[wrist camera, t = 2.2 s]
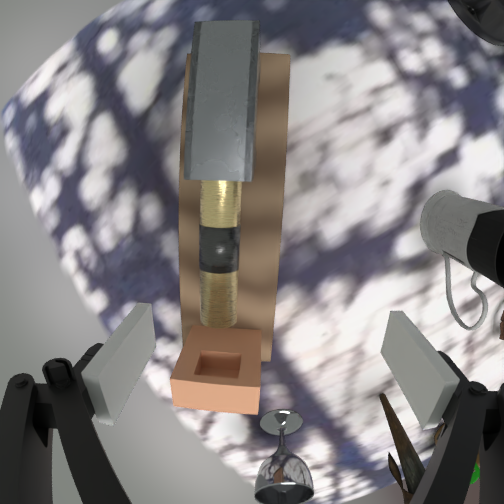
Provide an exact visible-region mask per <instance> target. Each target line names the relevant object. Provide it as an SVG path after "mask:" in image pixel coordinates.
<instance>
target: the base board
mask: <svg viewBox="0 0 504 504" xmlns="http://www.w3.org/2000/svg"><path fill="white" fill-rule="evenodd" d="M190 62H191V54H187V60H186V71H185V82H184V94H183V108H182V125H181V144H180V171H179V273H180V300H181V320H182V337H183V346H184V344H185V342H186V339H187V337H188V335H189V332H190V330H191V328H192V325H200V326H205V325H203V324H202V323H201V321H200V268H199V223H200V190H201V180H184V151H185V130H186V113H187V98H188V85H189V73H190ZM260 62H261V72H260V83H258V103H257V122H256V142H255V149H256V168H255V169H254V179H253V181H252V182H243V181H242V195H241V219H240V224H241V232H240V257H239V270H238V298H237V322H236V323H235V324H234V325H233V326H231V327H228V328H238V329H254V330H262V335H261V361H270V359H271V349H272V338H273V328H274V317H275V305H276V294H277V281H278V269H279V256H280V243H281V229H282V214H283V199H284V183H285V166H286V147H287V127H288V105H289V79H290V55H288V54H274V53H260Z"/></svg>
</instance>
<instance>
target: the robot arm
mask: <svg viewBox="0 0 504 504" xmlns="http://www.w3.org/2000/svg"><path fill="white" fill-rule="evenodd" d="M448 1H449V3H450V4H451V6H452V7H453V9H454V10H455V12H456V13H457V15H458V16H459V17H460V18H461V19H462V21H463V22H464V23H465V24H466V25H467V26H468V27H469V28H470V29H471V30H472V31H473V32H475V33H476V34H477V35H478V36H480V37H481V38H482V39H484V40H486V41H487V42H490V43H492V44H495V45H504V0H448ZM155 348H156V340H155V333H154V325H153V316H152V307H151V304H148V303H138V304H137V305H136V306H135V307H134V308H133V310H132V311H131V312H130V313H129V314H128V316H127V317H126V318H125V319H124V320H123V322H122V323H121V324H120V325H119V326H118V328H117V329H116V330H115V331H114V332H113V334H112V335H111V336H110V337H109V339H108V340H107V341H106V342H105V344H101V343H97V344H95V345H94V346H92V347H90V348H89V349H88V350H87V352H86V353H85V355H83V356H82V357H81V360H79V361H78V362H77V363H76V365H75V366H74V367H72V364H71V362H70V361H69V360H67V359H64V358H55V359H52V360H49V361H48V362H46V363H45V364H44V366H43V368H42V371H43V374H44V377H45V379H46V382H47V384H40V383H39V384H38V383H35V381H34V379H33V377H32V376H31V375H29V374H26V373H22V374H17V375H15V376H13V377H12V378H11V379H10V380H9V382H8V385H7V389H6V392H5V395H4V398H3V402H2V405H1V409H0V504H53V501H52V438H53V428H56V429H58V431H59V435H60V439H61V442H62V446H63V449H64V453H65V455H66V459H67V462H68V465H69V468H70V471H71V474H72V477H73V479H74V482H75V485H76V487H77V490H78V492H79V495H80V497H81V500H82V502H83V504H132V503H131V501H130V499H129V497H128V496H127V494H126V492H125V490H124V488H123V486H122V485H121V483H120V481H119V479H118V477H117V475H116V473H115V471H114V469H113V467H112V465H111V463H110V461H109V459H108V457H107V455H106V452H105V450H104V448H103V446H102V444H101V441H100V439H99V437H98V434H97V432H96V430H95V427H94V425H93V422H92V420H91V419H92V417H93V415H94V414H96V417H97V419H98V422H100V423H104V424H108V425H112V426H114V425H115V423H116V421H117V419H118V417H119V415H120V413H121V412H122V410H123V408H124V406H125V404H126V402H127V400H128V398H129V396H130V394H131V392H132V390H133V389H134V386H135V385H136V383H137V381H138V379H139V377H140V376H141V374H142V372H143V370H144V368H145V366H146V364H147V363H148V361H149V359H150V357H151V355H152V353H153V352H154V350H155ZM381 354H382V356H383V358H384V359H385V361H386V363H387V365H388V366H389V368H390V370H391V372H392V373H393V375H394V377H395V379H396V380H397V382H398V384H399V386H400V388H401V390H402V391H403V393H404V395H405V397H406V399H407V401H408V402H409V404H410V406H411V408H412V410H413V412H414V414H415V415H416V417H417V419H418V421H419V423H420V425H421V427H422V429H423V430H426V429H430V428H435V427H437V426H438V424H439V422H440V420H441V418H443V420H444V421H445V424H444V426H443V428H442V430H441V432H440V433H439V435H438V437H437V439H436V440H438V441H437V444H436V447H435V449H434V452H433V454H432V457H431V459H430V461H429V464H428V466H427V468H426V471H425V473H424V475H423V477H422V479H421V481H420V484H419V486H418V488H417V490H416V492H415V494H414V496H413V498H412V500H411V501H410V503H409V504H463V503H464V500H465V497H466V494H467V491H468V488H469V485H470V482H471V478H472V475H473V471H474V467H475V463H476V459H477V455H478V451H479V461H480V500H479V504H504V383H503V384H502V385H501V387H500V389H499V391H488V390H487V388H486V387H485V386H484V385H483V384H481V383H479V382H474V381H471V382H469V380H468V379H467V378H466V377H465V375H464V374H463V373H462V372H461V371H460V369H459V368H457V366H456V364H455V363H453V361H452V360H451V359H450V357H449V356H448V355H446V354H445V353H443V352H442V351H436V350H435V348H434V347H433V346H432V345H431V344H430V342H429V341H428V340H427V339H426V338H425V336H424V335H423V334H422V333H421V332H420V331H419V329H418V328H417V327H416V326H415V325H414V324H413V323H412V321H411V320H410V319H409V318H408V317H407V316H406V315H405V313H404V312H403V311H390V315H389V320H388V324H387V329H386V333H385V337H384V341H383V345H382V349H381Z"/></svg>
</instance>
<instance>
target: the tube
mask: <svg viewBox="0 0 504 504" xmlns="http://www.w3.org/2000/svg"><path fill="white" fill-rule="evenodd" d="M241 195H242V181H217V180H201V190H200V223H199V268H200V321H201V323H202V324H203V325H205V326H207V327H210V328H216V329H222V328H228V327H231V326H233V325H234V324H235V323H236V322H237V298H238V270H239V257H240V232H241V224H240V219H241Z"/></svg>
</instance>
